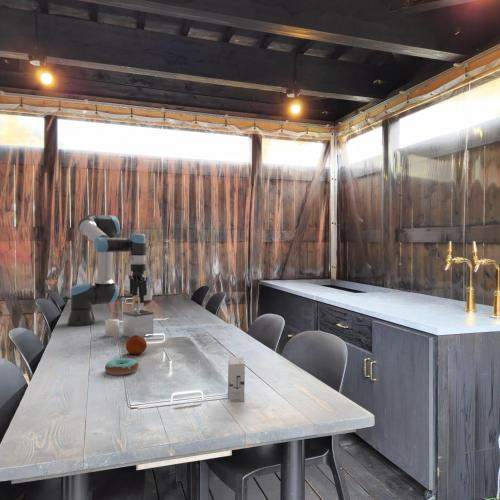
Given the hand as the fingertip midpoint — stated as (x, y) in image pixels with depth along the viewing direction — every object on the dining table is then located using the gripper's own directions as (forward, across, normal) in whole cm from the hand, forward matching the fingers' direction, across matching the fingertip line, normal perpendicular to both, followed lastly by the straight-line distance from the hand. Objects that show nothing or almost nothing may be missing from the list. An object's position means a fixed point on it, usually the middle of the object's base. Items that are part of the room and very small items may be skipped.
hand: (138, 308), depth 222 cm
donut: (+14, +49, -39) cm, 64 cm away
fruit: (+14, +31, -21) cm, 40 cm away
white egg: (+14, -10, -9) cm, 19 cm away
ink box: (+14, +99, -29) cm, 104 cm away
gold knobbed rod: (+12, 0, 0) cm, 12 cm away
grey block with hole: (+14, 0, 0) cm, 14 cm away
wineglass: (+14, -14, +13) cm, 24 cm away
